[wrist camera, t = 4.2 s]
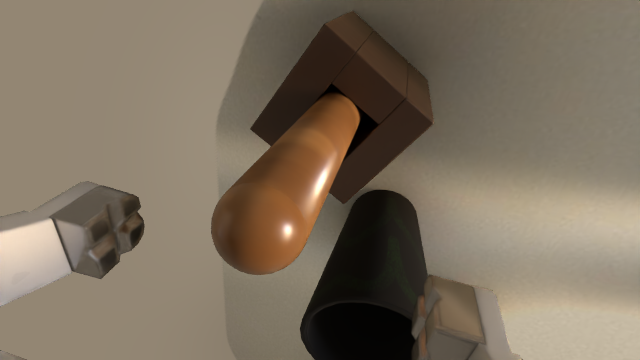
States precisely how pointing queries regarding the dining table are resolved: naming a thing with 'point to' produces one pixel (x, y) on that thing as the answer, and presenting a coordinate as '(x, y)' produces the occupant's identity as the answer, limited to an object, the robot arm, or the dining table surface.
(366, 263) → the cup
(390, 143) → the holder
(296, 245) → the stick
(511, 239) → the dining table surface
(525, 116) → the dining table surface
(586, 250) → the dining table surface
